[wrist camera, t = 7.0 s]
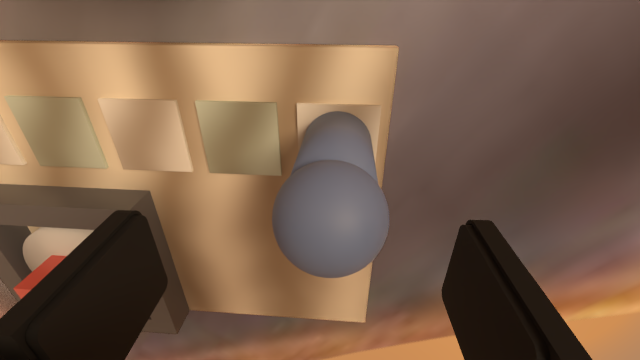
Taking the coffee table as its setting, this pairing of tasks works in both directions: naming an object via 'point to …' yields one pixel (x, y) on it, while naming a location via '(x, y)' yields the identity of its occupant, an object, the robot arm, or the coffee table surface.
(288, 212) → the pawn
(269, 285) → the board
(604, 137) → the coffee table surface
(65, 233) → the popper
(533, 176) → the coffee table surface
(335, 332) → the coffee table surface
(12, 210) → the frame
